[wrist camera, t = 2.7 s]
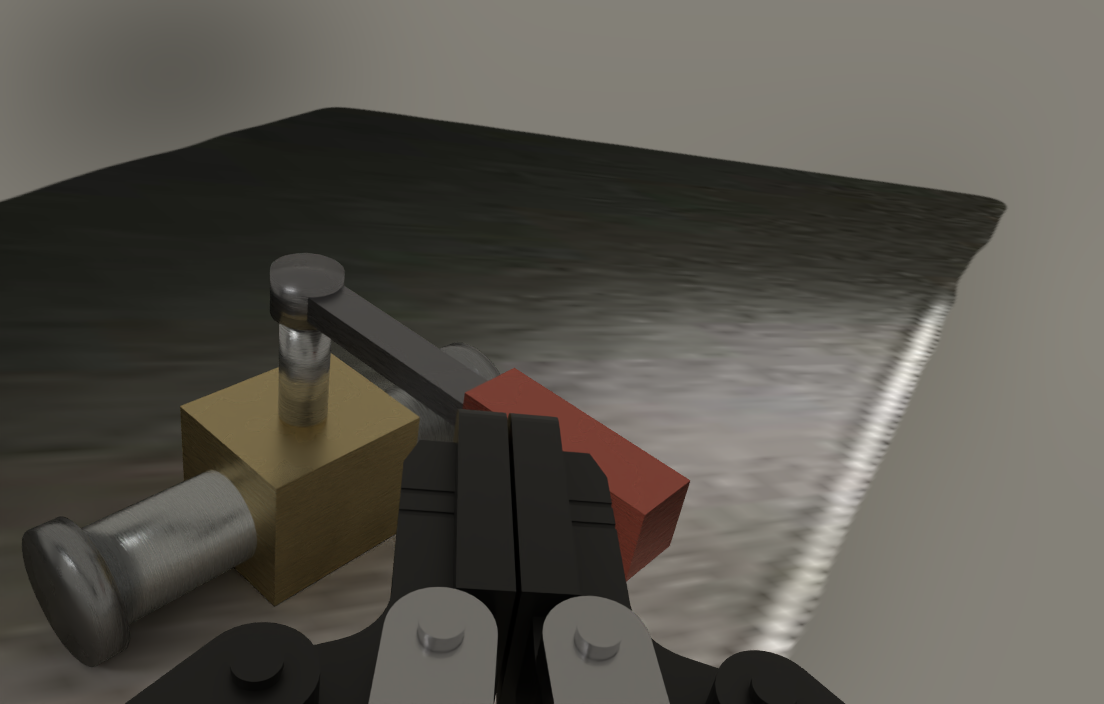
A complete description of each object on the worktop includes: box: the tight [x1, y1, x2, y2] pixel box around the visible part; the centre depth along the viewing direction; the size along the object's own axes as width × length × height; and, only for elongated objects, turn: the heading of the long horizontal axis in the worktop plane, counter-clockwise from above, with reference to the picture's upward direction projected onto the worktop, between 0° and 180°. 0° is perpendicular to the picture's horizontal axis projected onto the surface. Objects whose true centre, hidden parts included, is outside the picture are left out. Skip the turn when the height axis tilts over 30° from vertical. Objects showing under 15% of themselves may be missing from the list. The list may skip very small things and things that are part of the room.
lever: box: [270, 253, 690, 581], centre depth 37 cm, size 20×3×3 cm, turn 49°
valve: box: [22, 324, 500, 667], centre depth 45 cm, size 23×7×12 cm, turn 139°
